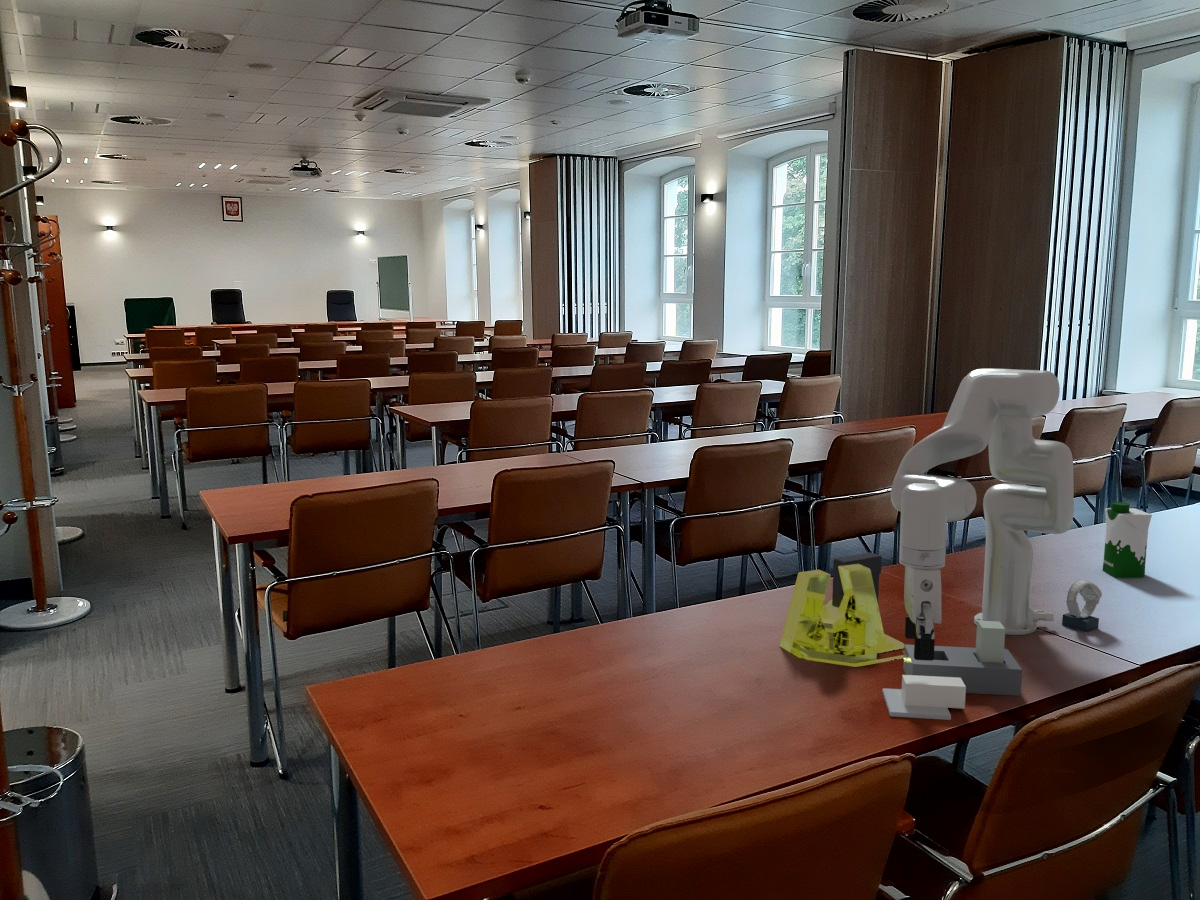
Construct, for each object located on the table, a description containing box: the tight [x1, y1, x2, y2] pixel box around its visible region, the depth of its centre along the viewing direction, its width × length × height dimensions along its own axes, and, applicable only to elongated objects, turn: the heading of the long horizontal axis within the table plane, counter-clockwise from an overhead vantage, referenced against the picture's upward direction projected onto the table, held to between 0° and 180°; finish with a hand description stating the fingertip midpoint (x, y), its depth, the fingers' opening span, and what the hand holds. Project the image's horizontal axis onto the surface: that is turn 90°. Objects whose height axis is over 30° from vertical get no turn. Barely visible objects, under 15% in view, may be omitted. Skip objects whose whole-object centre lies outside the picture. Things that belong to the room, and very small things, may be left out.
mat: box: [882, 688, 952, 721], centre depth 162 cm, size 10×10×1 cm
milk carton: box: [1102, 501, 1153, 579], centre depth 233 cm, size 9×9×20 cm
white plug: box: [901, 674, 967, 710], centre depth 162 cm, size 4×4×10 cm
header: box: [902, 643, 1023, 697], centre depth 172 cm, size 19×10×5 cm, turn 80°
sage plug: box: [975, 621, 1006, 663], centre depth 171 cm, size 4×4×10 cm
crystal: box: [779, 564, 905, 668], centre depth 189 cm, size 18×25×16 cm
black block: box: [831, 552, 883, 603], centre depth 205 cm, size 11×4×15 cm, turn 116°
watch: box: [1061, 579, 1103, 633], centre depth 198 cm, size 6×8×11 cm
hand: (918, 648), depth 161 cm, fingers open, 9 cm apart
